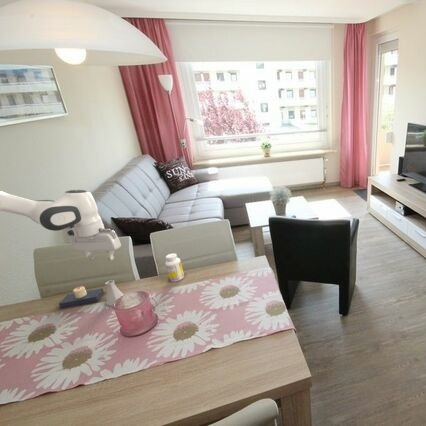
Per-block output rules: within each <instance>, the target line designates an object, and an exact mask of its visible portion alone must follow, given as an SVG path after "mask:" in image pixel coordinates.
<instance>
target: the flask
mask: <svg viewBox="0 0 426 426" xmlns="http://www.w3.org/2000/svg"><path fill="white" fill-rule="evenodd" d="M104 285H105V286H106V289H107V293H106V302H105V305H106V306H109V307H112V306H114V305H113V304H114V302H115V301H116V300H117V299H118V298H120V297H121V296H123V295H125V294H124V293H123V292H122V291H121V290H120V289H119V288H118V287H117V286H116V283H115V280H114V279H110V280H108V281H106V282H104Z"/></svg>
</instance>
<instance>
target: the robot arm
mask: <svg viewBox="0 0 426 426" xmlns="http://www.w3.org/2000/svg"><path fill="white" fill-rule="evenodd" d="M0 211H1V212H7V213H11V214H15V215H19V216H24V217H26V218H29V219H30V220H32V221H33V222H35V223H36V224H38V225H40V226H41V227H43V228H45V229H46V230H49V231H52V232H53V231H55V232H56V231H63V230H65V229H67V230H65V234H66V236H68V238H67V239H68V242H69V245H70V247H71V248H72V249H73V250H74V251H76V252H78V251H80V252H81V251H82V254H84V255H85V257H86V258H87V260H94V259H95V254H93V253H92V252H106V253H107V256H106V259H107V261H113V260H114V259H115V256H114V254H115V251H117V250H119V249H121V247H122V244H121V241H120V239H119V237H118V234H117V233H116V232H115V231H114V230H113V229H111V228H105V225H104V222H103V220H102V217H101V216H100V214H99V208H98V205H97V203H96V200H95V197H94V196H93V195H92V193H91V192H90V191H89V190H84V189H70V190H67V191H64V192H63V194H62V195H61V196H59V197H58V198H57V199H56V200H52V199H30V198H27V197H24V196H19V195H16V194H12V193H8V192H5V191H2V190H0ZM72 226H73V227H72ZM70 227H71V228H70ZM68 228H70V229H68Z"/></svg>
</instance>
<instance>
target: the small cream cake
mask: <svg viewBox="0 0 426 426" xmlns="http://www.w3.org/2000/svg"><path fill="white" fill-rule="evenodd" d="M86 291H87V290H86V288H85V286H83V285H79V286H77V287H75V288H74V289H72V293H74V295H75V297H76V298H81V297H84V296H85V295H86V294H87V293H86Z"/></svg>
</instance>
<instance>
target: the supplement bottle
mask: <svg viewBox="0 0 426 426" xmlns="http://www.w3.org/2000/svg"><path fill="white" fill-rule="evenodd" d="M165 260H166V261H165V265H164V266H165V268H166V271H167V275H168V278H169V281H170V282H178V281H181V280H182V279H184V278H185V272H184V269H183V265H182V261H181V259H180V258H179V257H178V255H177V253H169V254H167V255H166V256H165Z"/></svg>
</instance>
